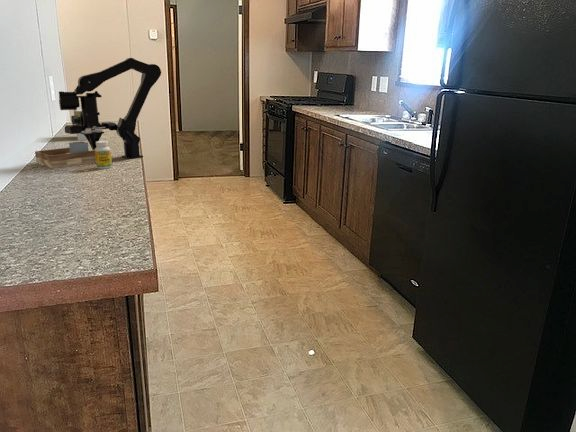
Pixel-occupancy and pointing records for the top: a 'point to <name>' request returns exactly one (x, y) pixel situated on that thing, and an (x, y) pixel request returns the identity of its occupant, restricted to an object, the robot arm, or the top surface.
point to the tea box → (76, 112)
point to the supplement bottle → (103, 155)
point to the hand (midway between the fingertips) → (94, 149)
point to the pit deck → (64, 157)
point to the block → (78, 147)
